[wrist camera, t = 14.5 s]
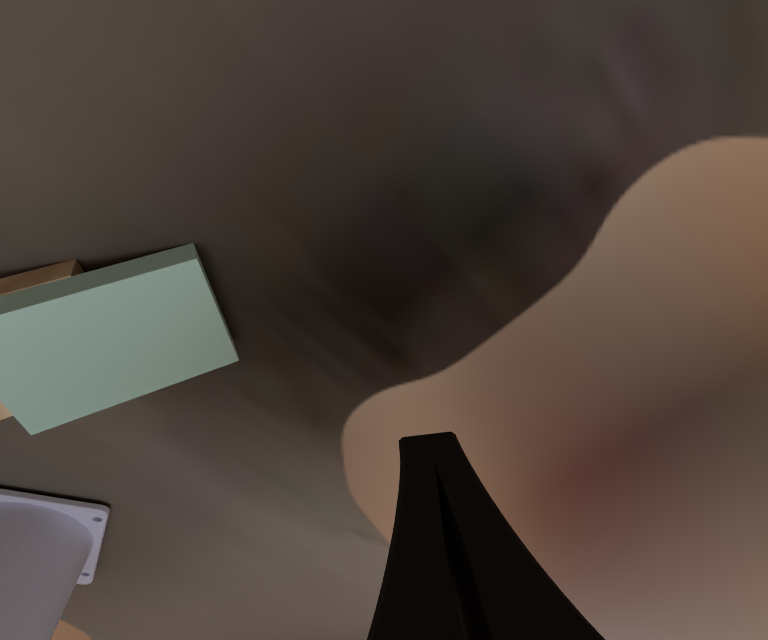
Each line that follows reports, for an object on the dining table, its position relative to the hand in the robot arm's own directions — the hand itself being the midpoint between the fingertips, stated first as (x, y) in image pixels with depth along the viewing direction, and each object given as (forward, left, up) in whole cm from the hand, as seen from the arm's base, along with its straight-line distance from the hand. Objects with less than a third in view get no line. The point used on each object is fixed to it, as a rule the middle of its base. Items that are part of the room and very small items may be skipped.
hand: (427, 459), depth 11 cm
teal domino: (-4, +6, -9) cm, 11 cm away
